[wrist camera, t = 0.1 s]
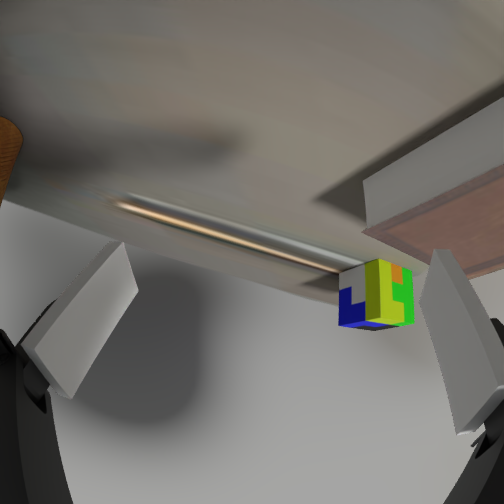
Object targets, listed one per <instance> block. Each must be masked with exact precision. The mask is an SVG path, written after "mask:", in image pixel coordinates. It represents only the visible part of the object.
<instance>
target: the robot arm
mask: <svg viewBox="0 0 504 504" xmlns="http://www.w3.org/2000/svg"><path fill="white" fill-rule="evenodd" d="M137 292H138V288H137V285H136V282H135V279H134V276H133V272H132V270H131V267H130V263H129V260H128V256H127V253H126V250H125V247H124V243H123V242H109V243H108V244H107V245H106V246H105V247H104V248H103V249H102V250H101V251H100V252H99V253H98V254H97V255H96V256H95V258H94V259H93V260H92V261H91V262H90V263H89V264H88V265H87V266H86V267H85V268H84V270H82V271H81V273H80V274H79V275H78V276H77V277H76V278H75V279H74V280H73V281H72V283H71V284H70V285H69V286H68V287H67V288H66V289H65V291H64V292H63V293H62V294H61V295H60V296H59V298H57V299H56V300H55V301H53V302H52V303H51V304H50V305H48V306H47V307H46V309H45V310H44V311H43V312H42V313H41V316H39V317H38V318H37V319H36V322H34V323H33V324H32V326H31V327H30V328H29V329H28V331H27V332H26V333H25V334H24V336H23V337H22V338H21V340H20V341H19V342H18V344H17V345H16V346H15V347H14V345H13V344H12V342H11V341H10V339H9V338H8V336H7V334H6V333H5V332H4V331H3V330H2V329H0V504H73V501H72V498H71V495H70V491H69V488H68V484H67V481H66V477H65V473H64V469H63V465H62V461H61V456H60V452H59V447H58V442H57V436H56V431H55V425H54V419H53V412H52V405H51V397H50V394H49V392H48V391H47V389H48V387H49V385H51V387H52V388H53V389H54V390H55V391H56V393H57V394H59V395H61V396H64V397H66V398H69V399H72V397H73V396H74V394H75V392H76V390H77V389H78V387H79V385H80V383H81V382H82V380H83V378H84V377H85V375H86V373H87V372H88V370H89V368H90V366H91V365H92V363H93V361H94V360H95V358H96V356H97V355H98V353H99V352H100V350H101V348H102V347H103V345H104V343H105V342H106V340H107V339H108V337H109V335H110V334H111V332H112V331H113V329H114V327H115V326H116V324H117V323H118V321H119V319H120V318H121V316H122V315H123V314H124V312H125V310H126V309H127V307H128V306H129V304H130V303H131V301H132V300H133V298H134V296H135V295H136V294H137ZM419 304H420V307H421V309H422V312H423V315H424V318H425V321H426V324H427V327H428V329H429V332H430V336H431V339H432V342H433V345H434V348H435V352H436V355H437V358H438V362H439V365H440V368H441V372H442V376H443V379H444V383H445V387H446V391H447V394H448V399H449V403H450V407H451V412H452V416H453V420H454V426H455V431H456V435H461V434H466V433H471V432H475V431H476V430H477V429H478V428H479V427H480V426H481V425H482V424H483V423H484V425H485V429H486V430H485V432H483V433H482V434H481V435H480V436H479V437H478V438H477V439H476V440H475V441H474V442H473V444H472V445H471V447H474V446H475V445H476V444H477V443H478V444H477V446H476V448H475V450H474V452H473V454H472V456H471V458H470V460H469V461H468V464H467V465H466V467H465V469H464V471H463V473H462V474H461V476H460V478H459V479H458V481H457V483H456V484H455V486H454V488H453V489H452V491H451V492H450V494H449V496H448V497H447V499H446V500H445V502H444V503H443V504H504V325H503V324H502V323H501V322H500V321H499V320H498V319H497V318H492V319H490V318H489V316H488V314H487V312H486V310H485V308H484V307H483V305H482V303H481V301H480V299H479V297H478V296H477V294H476V292H475V290H474V289H473V287H472V285H471V283H470V282H469V280H468V278H467V277H466V275H465V273H464V272H463V270H462V268H461V267H460V265H459V263H458V262H457V260H456V259H455V257H454V256H453V254H452V252H451V251H450V250H448V249H434V251H433V255H432V259H431V263H430V266H429V270H428V274H427V277H426V281H425V284H424V288H423V291H422V294H421V297H420V300H419Z"/></svg>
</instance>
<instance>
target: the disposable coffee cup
mask: <svg viewBox="0 0 504 504" xmlns="http://www.w3.org/2000/svg"><path fill="white" fill-rule="evenodd" d="M22 143H23V137H22V135H21V132H20V131H19V129H18V128H17V127H16V126H15V125H14V124H13V123H12V122H10V121H9V120H7V119H5V118H3V117H0V206H1V203H2V199H3V196H4V194H5V190H6V187H7V184H8V181H9V178H10V175H11V172H12V169H13V166H14V164H15V161H16V158H17V155H18V153H19V151H20V148H21V146H22Z"/></svg>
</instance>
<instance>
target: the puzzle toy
mask: <svg viewBox="0 0 504 504" xmlns="http://www.w3.org/2000/svg"><path fill="white" fill-rule="evenodd" d="M409 324H414V300H413V282H412V271H410V270H408V269H405V268H402V267H400V266H397V265H395V264H392V263H389V262H387V261H384V260H381V259H376V260H373V261H371V262H368V263H366V264H363V265H360V266H358V267H355V268H353V269H350V270H347V271H345V272H342V273H339V324H338V325H339V326H343V327H350V328H357V329H364V330H371V331H376V330H382V329H388V328H393V327H399V326H404V325H409Z"/></svg>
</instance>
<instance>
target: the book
mask: <svg viewBox="0 0 504 504" xmlns="http://www.w3.org/2000/svg"><path fill="white" fill-rule="evenodd" d="M363 188H364V197H365V207H366V222H367V228H366V229H365V230H363V231H362V233H364V234H366V235H368V236H370V237H372V238H375V239H377V240H379V241H381V242H383V243H385V244H387V245H389V246H392V247H394V248H396V249H398V250H400V251H402V252H404V253H406V254H408V255H410V256H412V257H414V258H416V259H418V260H420V261H422V262H424V263H426V264H428V265H430V263H431V259H432V255H433V251H434V249H448V250H450V251H451V252H452V254H453V256H454V257H455V259H456V260H457V262H458V263H459V265H460V267H461V268H462V270H463V272H464V273H465V275H466V277H467V278H468V280H469V279H473V278H476V277H479V276H482V275H485V274H489V273H492V272H495V271H498V270H501V269H504V97H502V98H500V99H499V100H497V101H495V102H494V103H492V104H490V105H489V106H487V107H485V108H484V109H482V110H480V111H479V112H477V113H475V114H473V115H472V116H470V117H468V118H467V119H465V120H463V121H462V122H460V123H458V124H457V125H455V126H453V127H452V128H450V129H448V130H447V131H445V132H443V133H442V134H440V135H438V136H437V137H435V138H433V139H432V140H430V141H428V142H426V143H425V144H423V145H421V146H420V147H418V148H416V149H415V150H413V151H411V152H410V153H408V154H406V155H405V156H403V157H401V158H400V159H398V160H396V161H395V162H393V163H391V164H390V165H388V166H386V167H385V168H383V169H381V170H380V171H378V172H376V173H375V174H373V175H371V176H370V177H368V178H366V179H365V180H363Z"/></svg>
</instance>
